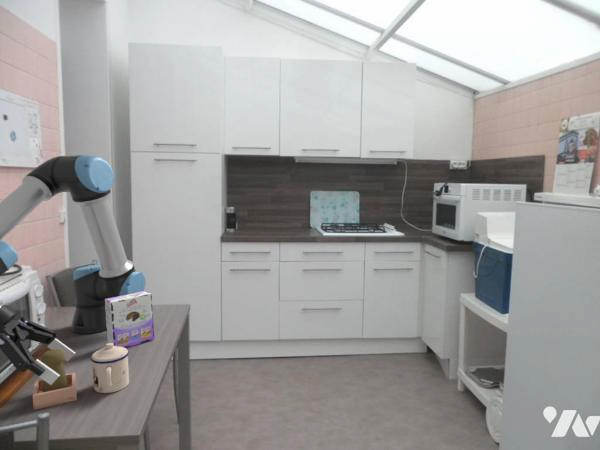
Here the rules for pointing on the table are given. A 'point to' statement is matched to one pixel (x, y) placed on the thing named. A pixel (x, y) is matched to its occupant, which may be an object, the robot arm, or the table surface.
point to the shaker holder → (54, 393)
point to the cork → (55, 369)
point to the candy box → (129, 319)
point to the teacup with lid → (110, 368)
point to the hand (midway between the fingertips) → (64, 368)
